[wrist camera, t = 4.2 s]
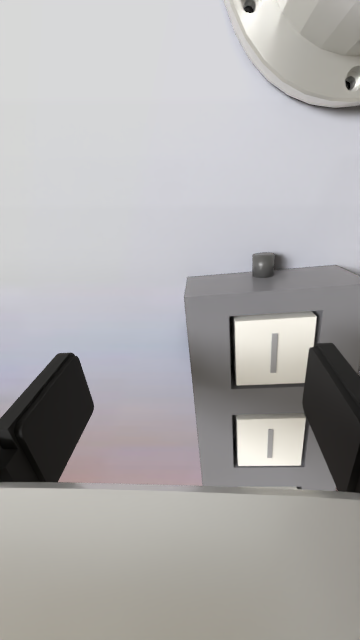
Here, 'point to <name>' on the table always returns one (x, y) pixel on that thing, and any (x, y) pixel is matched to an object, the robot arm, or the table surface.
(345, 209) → the table surface
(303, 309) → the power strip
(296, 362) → the button
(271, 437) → the middle button
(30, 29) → the table surface
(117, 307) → the table surface
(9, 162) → the table surface
